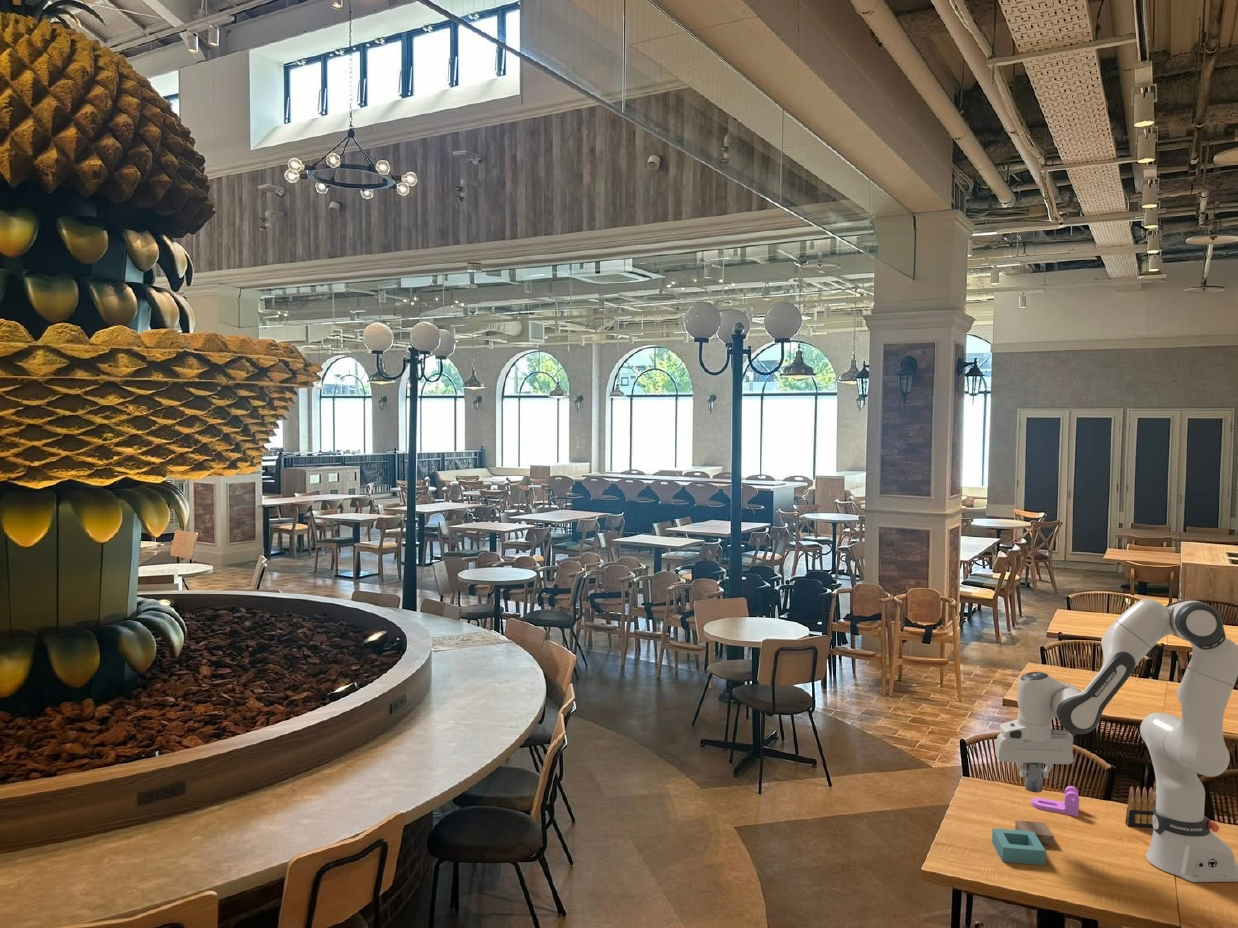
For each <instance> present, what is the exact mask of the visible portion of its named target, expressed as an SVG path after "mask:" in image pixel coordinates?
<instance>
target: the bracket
mask: <svg viewBox="0 0 1238 928" xmlns="http://www.w3.org/2000/svg"><path fill="white" fill-rule="evenodd" d="M1030 800H1031V801H1030V805H1031V806H1032V807H1033V808H1035V809H1037V810H1041V811H1042V810H1043V811H1048V812H1052V813H1058V814H1064V815H1069V816H1073V817H1079V811H1080V810H1079V809H1080V797H1079V790H1078V789H1077V788H1076V787H1075V786H1073V785H1069V786H1066V788H1065V789H1064V801H1057V800H1052V799H1047V798H1041V797H1032V799H1030Z"/></svg>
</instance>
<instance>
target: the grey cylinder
mask: <svg viewBox="0 0 1238 928" xmlns="http://www.w3.org/2000/svg"><path fill="white" fill-rule="evenodd" d="M1024 768H1025V770H1026V771H1027V774H1026V775H1027V777H1024V779H1025V781H1024V785H1025V786H1024V787H1025V790H1027V792H1030V793H1042V792H1043V778H1042V770H1043V763H1025V766H1024Z"/></svg>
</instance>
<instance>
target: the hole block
mask: <svg viewBox="0 0 1238 928" xmlns="http://www.w3.org/2000/svg"><path fill="white" fill-rule="evenodd" d="M991 843H992V845H993V847H994V849H995V850H996V853H997V854H998V856H999V859H1000V860H1001V862H1003V863H1004V862H1005V863H1014V864H1026V865H1037V866H1046V861H1047V860H1046V857H1047V851H1046V849H1045V847H1044V845H1042V844H1041V842H1040V841H1039V839H1038V838H1037V836H1036V834H1035V833H1034V832H1033V831H1020V830H1015V829H1005V828H996V827H995V828H994V827H993V828H992V834H991Z"/></svg>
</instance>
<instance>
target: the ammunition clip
mask: <svg viewBox="0 0 1238 928" xmlns="http://www.w3.org/2000/svg"><path fill="white" fill-rule="evenodd" d="M1141 794H1142V795H1141ZM1155 806H1156V791H1155V792H1154V789H1153V787H1152V786H1151V787H1150V788H1149V791H1147V788H1146V786H1144V787H1143V789H1142V793H1141V788H1140V786H1138V785H1137V788H1136V790H1135V791H1134V787H1133V785H1131V786H1130V787H1129V794H1128V799H1127V807H1126V815H1125V825H1126V826H1127V827H1128V828H1141V829H1144V828H1145V829H1153V811H1154V807H1155Z"/></svg>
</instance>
